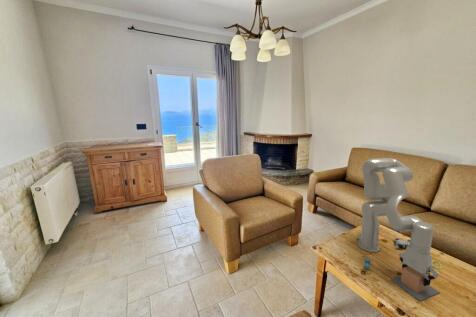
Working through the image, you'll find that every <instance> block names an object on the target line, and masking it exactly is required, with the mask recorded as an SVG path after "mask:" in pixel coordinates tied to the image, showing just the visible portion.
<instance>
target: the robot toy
mask: <svg viewBox="0 0 476 317" xmlns="http://www.w3.org/2000/svg"><path fill="white" fill-rule="evenodd" d="M392 240H394V241H393V244H394V245H395V248H396V249H406V248H407V246H408V245H409V244H410V243H409V242H408V240H409V239H407V240H403V239H400V238H397V237H393V239H392Z"/></svg>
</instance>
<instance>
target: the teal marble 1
mask: <svg viewBox="0 0 476 317" xmlns="http://www.w3.org/2000/svg"><path fill="white" fill-rule="evenodd" d="M364 262H365V263H368V264H370V263H371V259H370V258H369V257H364Z"/></svg>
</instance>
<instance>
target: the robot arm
mask: <svg viewBox="0 0 476 317" xmlns="http://www.w3.org/2000/svg"><path fill="white" fill-rule="evenodd" d="M361 166H362V168H361V171H362V173H363V187H364V188H363V193H364V194H363V195H364V197H365V199H367V200H369V201H365V202H364V203H363V204H362V205H361V213H362V221H361V222H362V224H361V231H360V233H358V234H357V235H356V237H355V238H357V239H358V241H357V246H358V247H359V248H360V249H362V250H363V251H365V252H368V253H379V252H380V250H381V247H380V245H379V244H378V243H379V236H380V228H381V227H380V225H381V224H380V220H379V219H378V217H386V219H387V221H388V224H389V226H390V227H391V228H392V229H393V231H396V232H411V233H410V234H411V235H410V239H407V240H408V242H409V243H410V244H409V245H408V246H407V248H405V251H404V252H398V253H397V254H398V257H399V260H400V262H401V265H402V266H401V270H402V269H403V268H404V267H407V266H409V267H411V268H413V269H414V270H416V271H418V272H419V273H421V274H424V276H425V277H426V278H424V283H423V285H424V286H427V285H429V286H431V280H435V279H437V278H439V277H440V275H439V273H438V272H437V271H436V269H435V268H433V267H432V261H433V258H432V257H433V256H432V253H431V249H432V248H431V247H432V242H433V236H434V227H433V225H431V224H429V223H427V222H424V221H423V220H422V219H421V218H419V217H418V216H416V215H413V214H411V215H409V214H408V215H399V211H398V206H399V204H400V202H401V201H402V200H404V199H405V198H407V197H409V191H408V189H407V188H408V187H407V184H406V182H411V181H412V180H413V178H414V174H413V171H412V169H411V168H409V167H408V166H407V165H406V164H404V163H402V162H401V161H399V160H398V159H395V158H392V157H382V158H380V157H378V158H377V157H376V158H368V159H366V160H365V161H364V162H363V163H362V165H361ZM378 173H382V177H383V181H384V183H381V178H380V176H379V174H378ZM370 200H372V201H370ZM374 200H375V201H374ZM427 274H428V275H427Z"/></svg>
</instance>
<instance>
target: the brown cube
mask: <svg viewBox="0 0 476 317" xmlns="http://www.w3.org/2000/svg"><path fill="white" fill-rule="evenodd" d="M401 275H402V276H401V282H402V283H403V284H405V285H406V286H408V287H409V288H411V289H412V290H414V291H415V292H416V293H418V292H420V291H422V290H425V289H427V286H428V285H427V286H424V285H423V283H424V278H426V277H425V276H424V274H421V273H419V272H418V271H416V270H414V269H413V268H411V267H409V266H407V267H404V268H403V269H402V268H401ZM427 275H428V274H427Z"/></svg>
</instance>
